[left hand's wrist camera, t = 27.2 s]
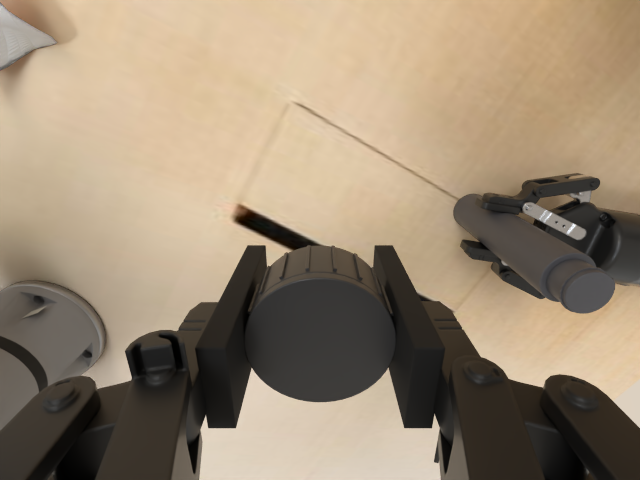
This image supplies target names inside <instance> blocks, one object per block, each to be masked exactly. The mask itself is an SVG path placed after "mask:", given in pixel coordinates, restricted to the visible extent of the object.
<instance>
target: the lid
mask: <svg viewBox="0 0 640 480" xmlns="http://www.w3.org/2000/svg"><path fill="white" fill-rule="evenodd" d="M247 314H249V317H248V320H247V323H246V327H245V332H244V344H245V352H246V356H247V359H248V361H249V363H250V365H251V367H252V368H253V370H254V372H255V373H256V374H257V375H258V376H259V378H260V379H261V380H262V381H264V382H265V383H266V384H267V385H268V386H270V387H271V388H273V389H274V390H276V391H278V392H279V393H281V394H284V395H286V396H288V397H291V398H295V399H298V400H303V401H310V402H330V401H337V400H342V399H346V398H349V397H352V396H354V395H356V394H359V393H361V392H363V391H364V390H366V389H368V388H369V387H370V386H372V385H373V384H374V383H376V382H377V381H378V380H379V379H380V378H381V377H382V375H383V374H384V373H385V372H386V370H387V369H388V367H389V365H390V363H391V361H392V359H393V356H394V352H395V346H396V331H395V327H394V323H393V320H392V317H391V316H393V312H392V309H391V306H390V303H389V300H388V297H387V295H386V292H385V289H384V286H383V285H382V286H381V284H380V282H379V280H378V278H377V276H376V273H375V270H374V268H373V267H372V268H371V267H370V266H369V265H368V264H367V263H366V262H364V261H363V260H362V259H361V258H359V257H358V256H357V254H355V253H354V254H352V253H351V252H348V251H346V250H343V249H340V248H336V247H335V246H332V247H330V246H310V245H309V246H307V247H304V248H300V249H297V250H294V251H292V252H289V253H285V254H284V256H282V257H281V258H280V259H278V260H277V261H276V262H275V263H273V264H272V265H271V266H268V267H267V269H266V273H265V274H264V276H263V278H262V280H261V282H260V284H257V286H256V289H255V292H254V295H253V298H252V301H251V303H250V306H249V309H248V312H247Z"/></svg>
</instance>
